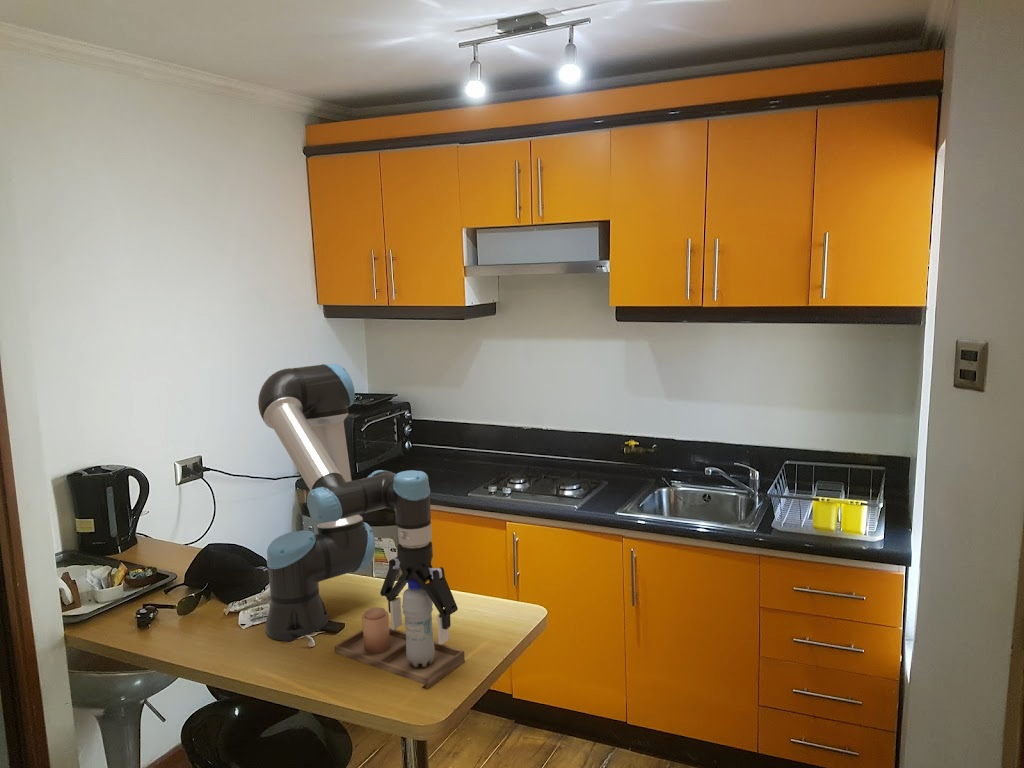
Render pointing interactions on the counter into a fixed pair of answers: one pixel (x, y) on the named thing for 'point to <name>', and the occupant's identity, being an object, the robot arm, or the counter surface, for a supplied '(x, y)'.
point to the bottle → (418, 625)
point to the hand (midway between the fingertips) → (419, 634)
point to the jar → (376, 630)
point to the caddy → (403, 658)
